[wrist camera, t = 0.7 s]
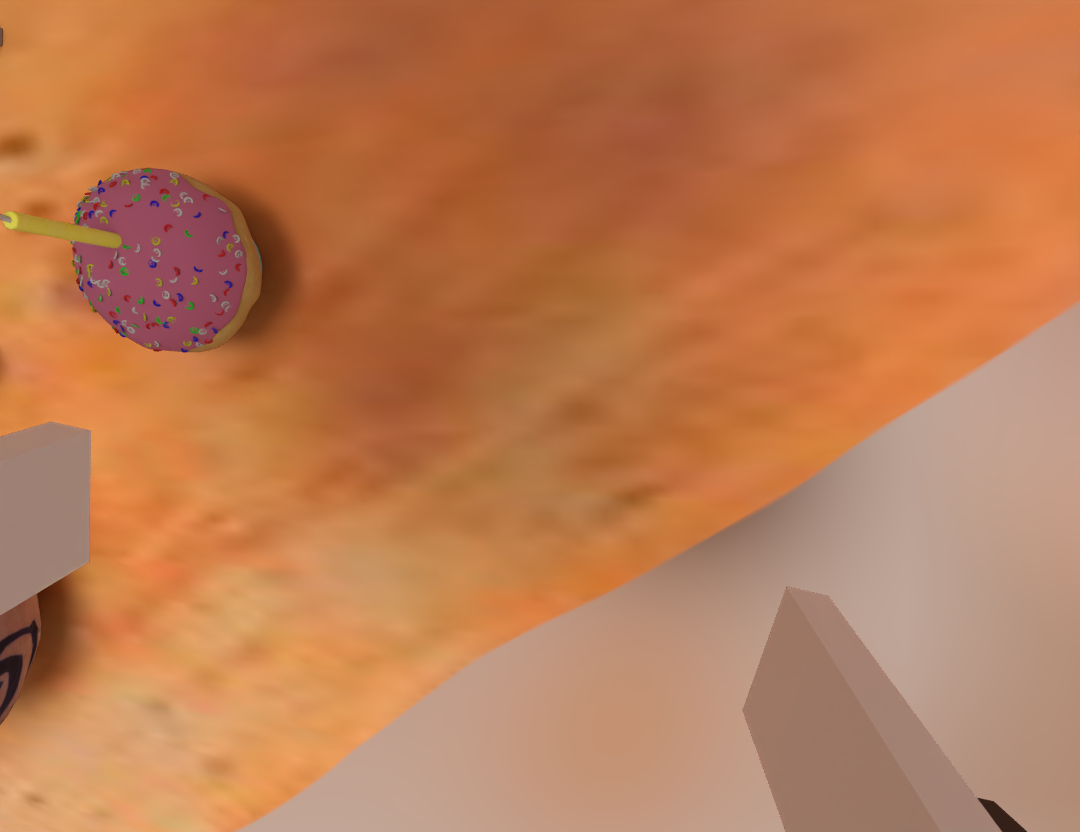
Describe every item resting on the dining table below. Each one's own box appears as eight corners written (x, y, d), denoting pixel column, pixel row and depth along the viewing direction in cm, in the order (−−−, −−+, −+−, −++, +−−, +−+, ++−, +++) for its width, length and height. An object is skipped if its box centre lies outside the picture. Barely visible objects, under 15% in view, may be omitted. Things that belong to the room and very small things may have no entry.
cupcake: (117, 243, 33) (-139, 232, 21) (226, 145, 31) (13, 74, 19) (221, 370, 34) (34, 425, 22) (331, 283, 32) (190, 293, 21)
